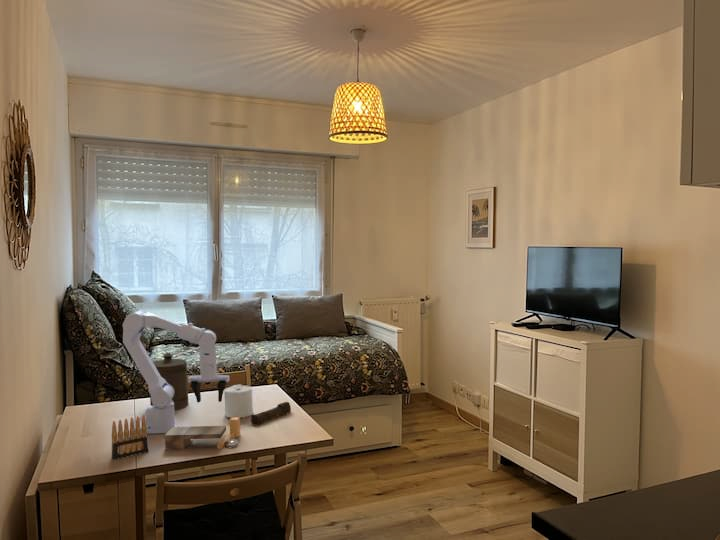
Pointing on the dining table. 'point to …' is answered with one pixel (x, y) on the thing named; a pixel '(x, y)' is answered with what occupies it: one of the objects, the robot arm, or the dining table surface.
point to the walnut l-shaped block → (191, 435)
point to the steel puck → (231, 443)
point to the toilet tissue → (238, 401)
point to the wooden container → (174, 378)
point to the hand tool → (271, 413)
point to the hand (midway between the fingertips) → (209, 401)
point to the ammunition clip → (129, 439)
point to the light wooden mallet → (231, 431)
